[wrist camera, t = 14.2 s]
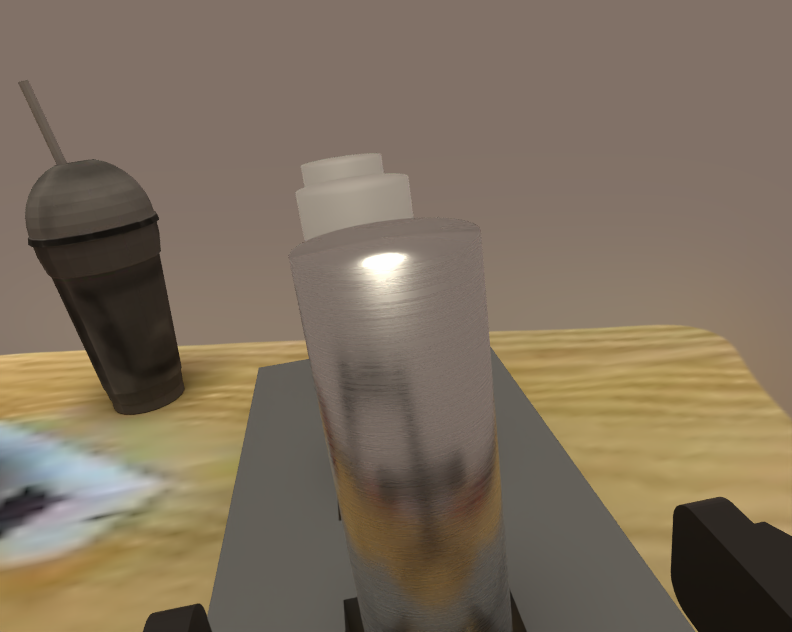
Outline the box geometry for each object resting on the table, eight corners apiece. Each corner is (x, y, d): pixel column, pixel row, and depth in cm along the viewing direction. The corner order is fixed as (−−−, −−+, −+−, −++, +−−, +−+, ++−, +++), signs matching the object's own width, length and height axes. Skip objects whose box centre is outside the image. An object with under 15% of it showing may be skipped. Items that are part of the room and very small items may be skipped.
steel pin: (390, 795, 15) (283, 283, 10) (375, 658, 19) (292, 235, 14) (539, 760, 16) (505, 246, 11) (496, 633, 19) (456, 209, 14)
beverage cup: (218, 396, 38) (126, 64, 31) (97, 440, 35) (-36, 80, 28) (191, 362, 44) (109, 77, 37) (86, 396, 41) (-26, 91, 34)
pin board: (175, 943, 13) (-97, 387, 8) (265, 396, 37) (211, 172, 32) (766, 798, 14) (849, 224, 9) (480, 357, 38) (460, 135, 33)
